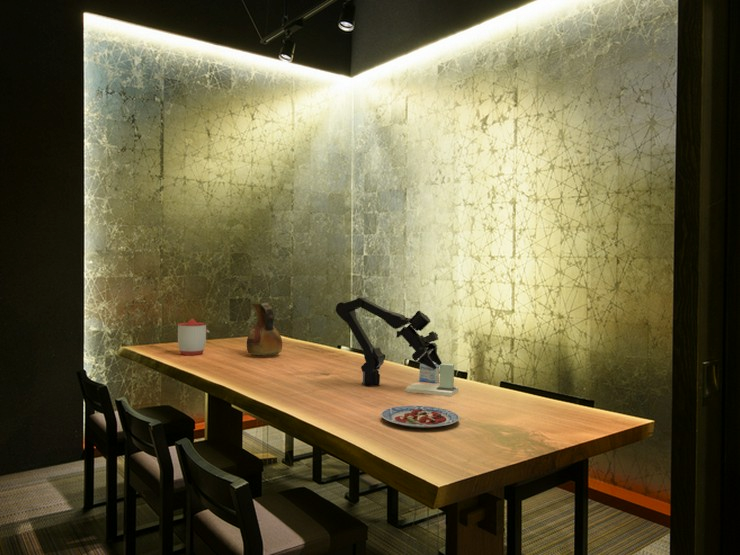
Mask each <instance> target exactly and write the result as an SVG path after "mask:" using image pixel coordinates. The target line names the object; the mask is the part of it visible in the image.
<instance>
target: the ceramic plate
mask: <svg viewBox="0 0 740 555" xmlns="http://www.w3.org/2000/svg"><path fill="white" fill-rule="evenodd" d="M380 416H381V418H383V419H384V420H385V421H387V422H390V423H393V424H397V425H400V426H403V427H408V428H413V429H415V428H416V429H432V428H433V429H434V428H438V427H443V426H449V425H452V424H454V423H457V422H458V421H459V420H460V416H459V415H458V414H457V413H456V412H454V411H452V410H448V409H445V408H441V407H436V406H427V405H399V406H394V407H389V408H386V409H384V410H383V411H381V412H380Z"/></svg>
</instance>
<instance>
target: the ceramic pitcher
mask: <svg viewBox="0 0 740 555" xmlns="http://www.w3.org/2000/svg"><path fill="white" fill-rule="evenodd" d="M251 306H253V307H254V309H255V312H256V314H257V315H256V317H257V318H256V320H257V321H256V324H255V325H254V326H253V327H251V329H250V331H249V333H248V335H247V338H246V351H247V353H248V354H250V355H254V356H277V355H279V354H280V353H281V352H282V349H283V339H282V336H281V333H280V332H279V330H278V328H276V326H274V321H275V320H274V318H275V314H274V311H273V306H272V303H271V302H263V303H262V302H258V303H257V302H256V303H252V304H251Z"/></svg>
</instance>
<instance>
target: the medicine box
mask: <svg viewBox="0 0 740 555" xmlns="http://www.w3.org/2000/svg"><path fill="white" fill-rule="evenodd" d="M433 363H434V364H435V366H436V367H437V368H436V369H433V368H431V367H428V366H426V365H424V364H422V363H419V378H418V379H419V380H418V381H419V382H423V383H427V384H429V383H430V384H437V383H440V365H438V364H436V363H435V362H433Z"/></svg>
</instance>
